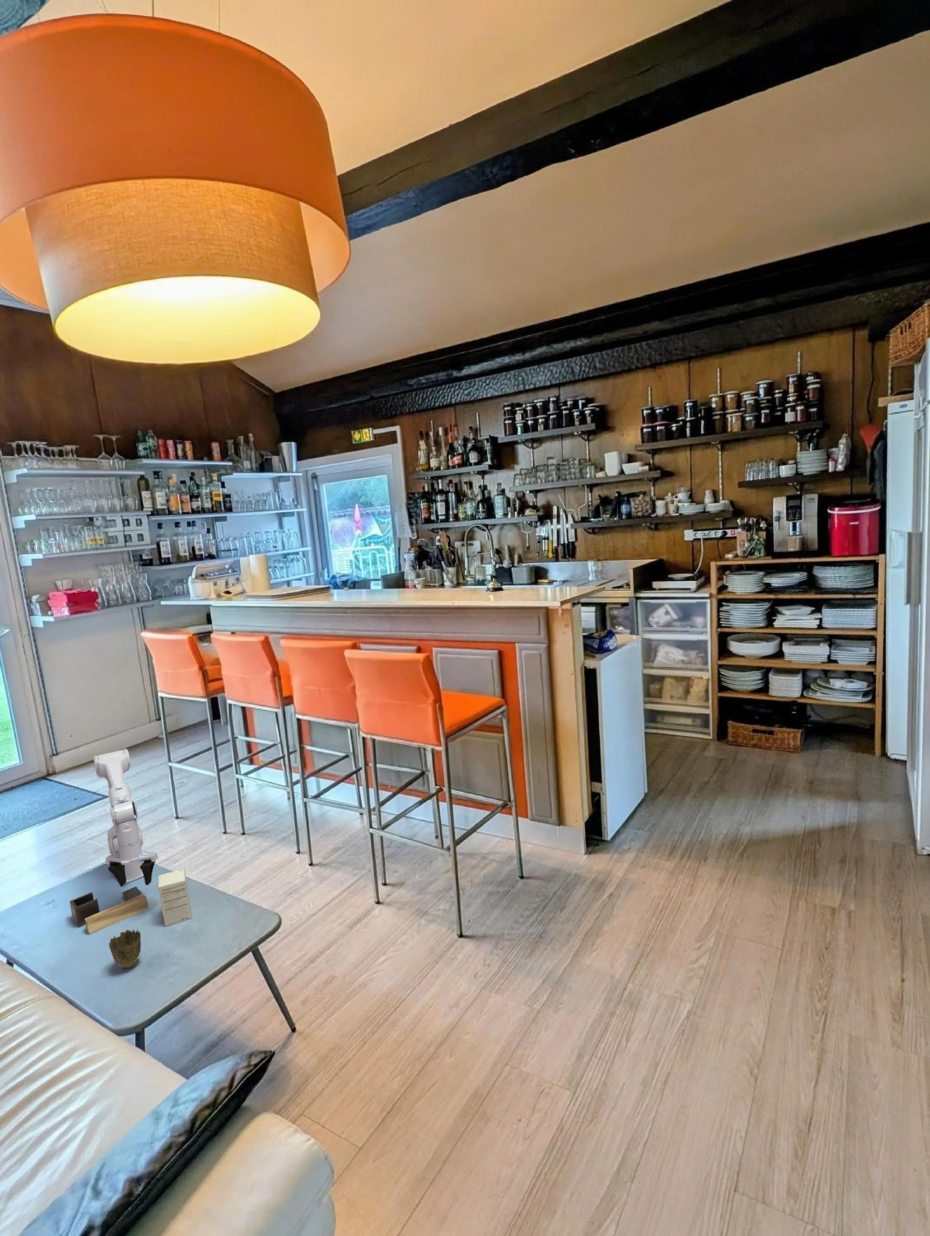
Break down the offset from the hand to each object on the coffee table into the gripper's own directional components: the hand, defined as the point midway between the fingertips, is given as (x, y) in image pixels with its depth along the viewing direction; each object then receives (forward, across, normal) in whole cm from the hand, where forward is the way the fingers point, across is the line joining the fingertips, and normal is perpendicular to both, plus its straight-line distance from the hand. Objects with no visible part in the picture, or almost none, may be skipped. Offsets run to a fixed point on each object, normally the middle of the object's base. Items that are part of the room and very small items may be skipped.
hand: (136, 884), depth 191 cm
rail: (+10, -6, -2) cm, 12 cm away
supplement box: (+10, +12, -2) cm, 16 cm away
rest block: (+10, -7, +8) cm, 14 cm away
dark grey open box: (+10, -16, -1) cm, 19 cm away
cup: (+10, +9, -23) cm, 26 cm away
